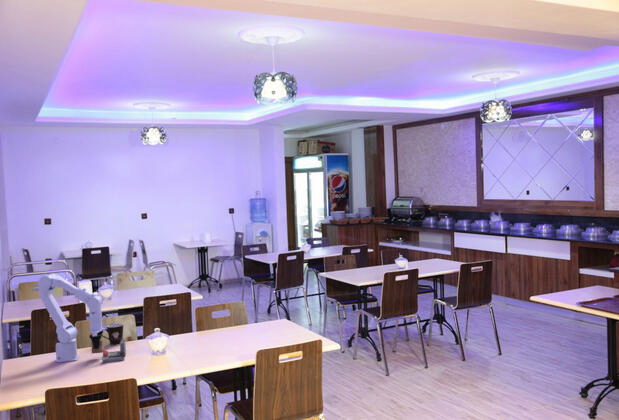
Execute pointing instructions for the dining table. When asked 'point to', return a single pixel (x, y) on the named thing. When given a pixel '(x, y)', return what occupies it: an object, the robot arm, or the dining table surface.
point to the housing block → (99, 347)
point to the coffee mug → (115, 333)
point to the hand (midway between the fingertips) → (97, 347)
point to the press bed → (117, 353)
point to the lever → (105, 355)
